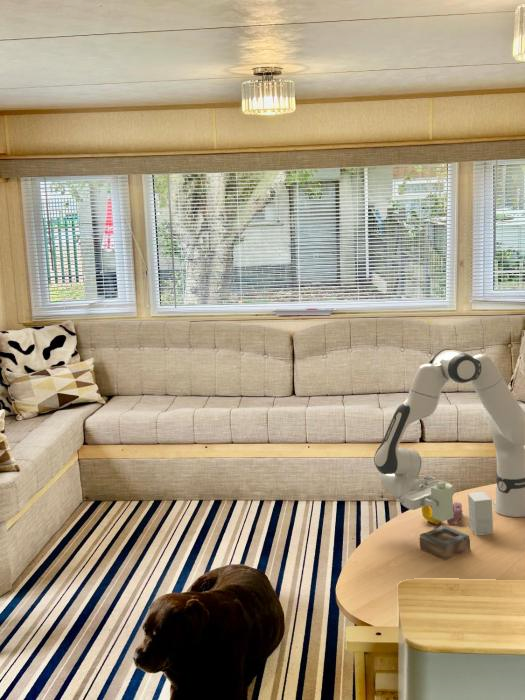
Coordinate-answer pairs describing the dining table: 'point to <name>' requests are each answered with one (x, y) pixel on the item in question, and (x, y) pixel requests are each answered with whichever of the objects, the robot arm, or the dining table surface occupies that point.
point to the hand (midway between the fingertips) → (444, 501)
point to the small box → (480, 513)
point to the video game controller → (456, 512)
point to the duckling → (429, 514)
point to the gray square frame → (444, 542)
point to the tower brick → (442, 502)
